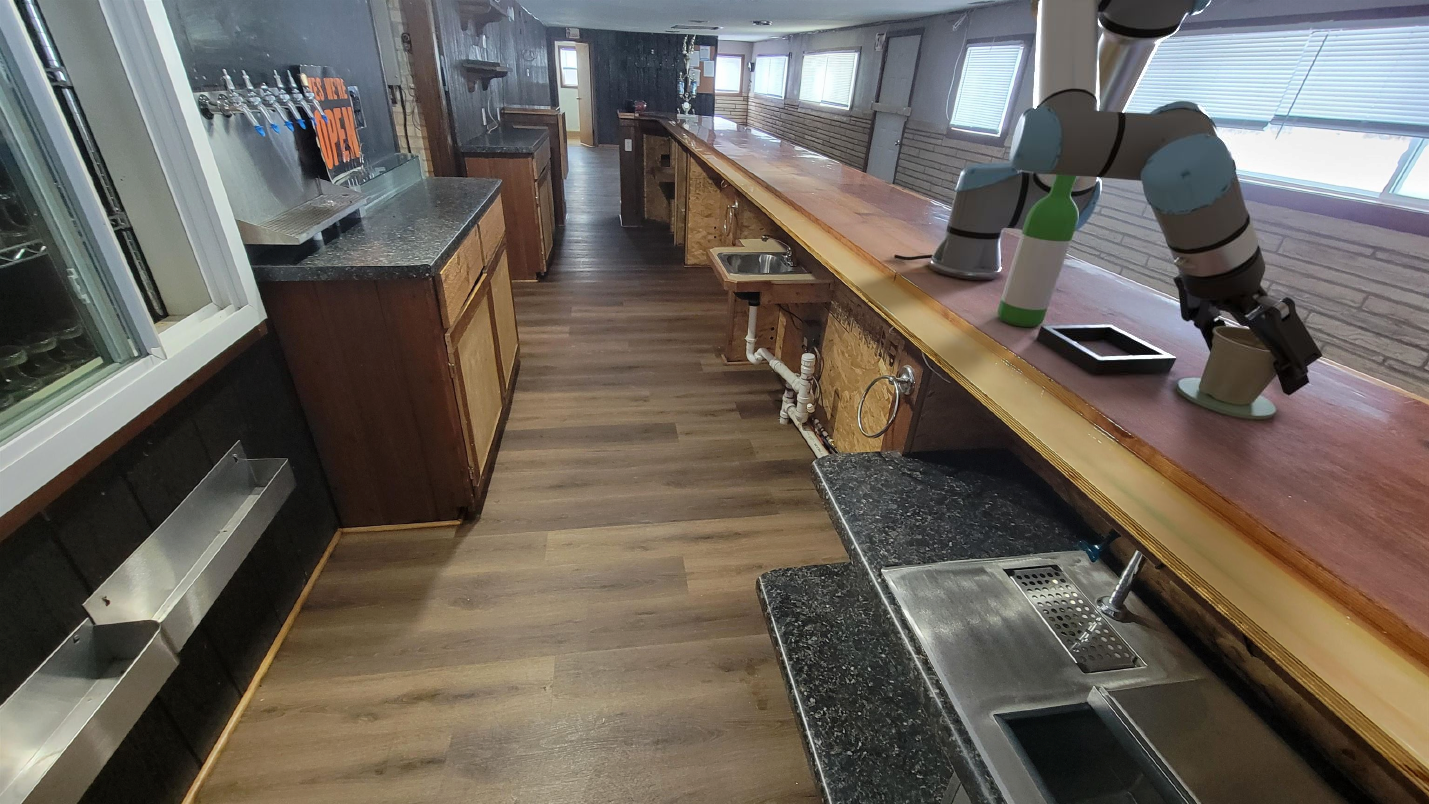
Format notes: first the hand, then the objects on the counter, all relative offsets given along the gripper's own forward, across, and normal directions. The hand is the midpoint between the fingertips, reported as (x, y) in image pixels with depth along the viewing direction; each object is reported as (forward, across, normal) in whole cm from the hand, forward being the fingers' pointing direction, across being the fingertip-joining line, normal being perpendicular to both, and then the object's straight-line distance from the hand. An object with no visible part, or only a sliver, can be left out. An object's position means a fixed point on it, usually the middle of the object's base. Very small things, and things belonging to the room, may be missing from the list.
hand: (1258, 370), depth 78 cm
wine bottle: (-7, -30, -14) cm, 34 cm away
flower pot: (+1, 0, -5) cm, 5 cm away
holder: (-4, -15, -10) cm, 19 cm away
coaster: (+1, 0, -5) cm, 5 cm away
